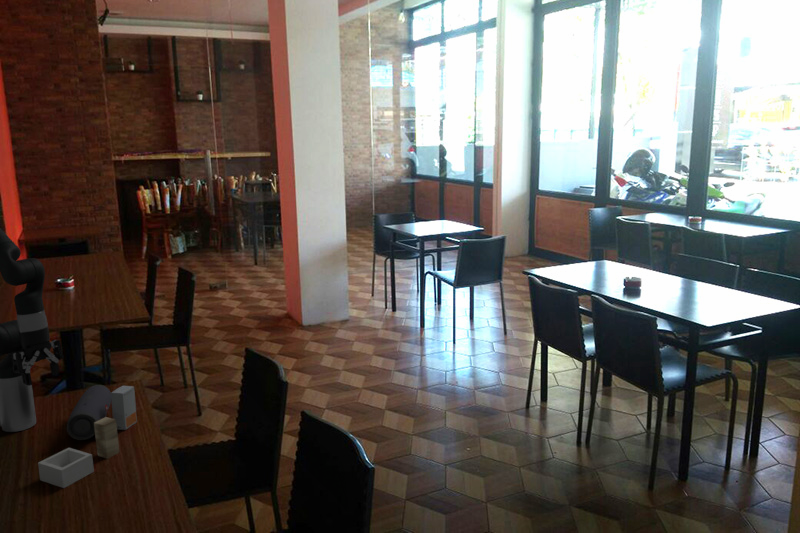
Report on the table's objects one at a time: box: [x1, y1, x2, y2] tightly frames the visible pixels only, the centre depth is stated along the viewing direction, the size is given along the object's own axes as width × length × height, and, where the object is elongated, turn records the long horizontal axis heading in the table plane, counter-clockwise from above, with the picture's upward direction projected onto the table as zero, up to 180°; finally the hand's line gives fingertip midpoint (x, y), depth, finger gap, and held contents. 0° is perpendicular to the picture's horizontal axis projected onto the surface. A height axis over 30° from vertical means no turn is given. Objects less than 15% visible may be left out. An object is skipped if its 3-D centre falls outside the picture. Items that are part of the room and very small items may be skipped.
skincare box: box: [110, 385, 138, 431], centre depth 195 cm, size 6×4×12 cm
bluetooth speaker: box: [66, 384, 112, 441], centre depth 194 cm, size 23×9×10 cm, turn 14°
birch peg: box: [94, 416, 120, 460], centre depth 178 cm, size 4×4×10 cm
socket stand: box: [37, 447, 95, 489], centre depth 167 cm, size 9×9×5 cm
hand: (42, 380), depth 187 cm, fingers open, 8 cm apart
